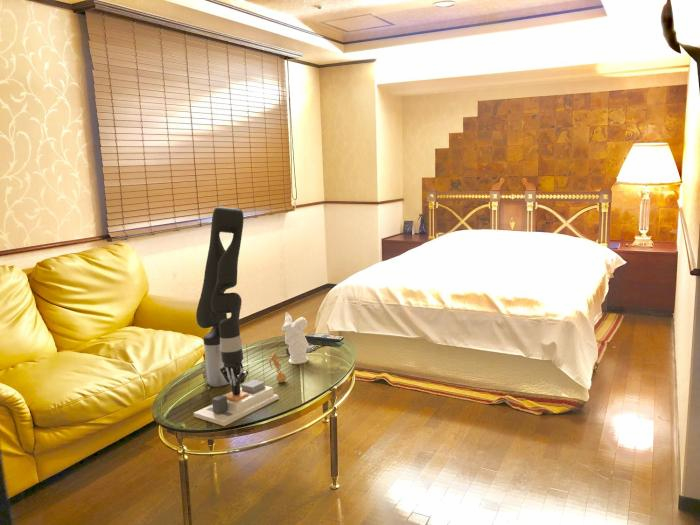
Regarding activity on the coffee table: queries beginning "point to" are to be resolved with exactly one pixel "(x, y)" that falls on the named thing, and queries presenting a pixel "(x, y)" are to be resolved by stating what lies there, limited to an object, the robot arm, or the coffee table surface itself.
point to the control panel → (238, 407)
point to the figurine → (278, 368)
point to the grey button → (253, 386)
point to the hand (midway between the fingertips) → (236, 394)
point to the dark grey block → (219, 404)
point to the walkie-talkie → (306, 349)
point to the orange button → (236, 396)
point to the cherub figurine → (296, 339)
